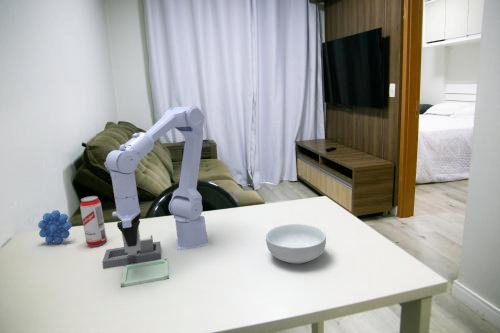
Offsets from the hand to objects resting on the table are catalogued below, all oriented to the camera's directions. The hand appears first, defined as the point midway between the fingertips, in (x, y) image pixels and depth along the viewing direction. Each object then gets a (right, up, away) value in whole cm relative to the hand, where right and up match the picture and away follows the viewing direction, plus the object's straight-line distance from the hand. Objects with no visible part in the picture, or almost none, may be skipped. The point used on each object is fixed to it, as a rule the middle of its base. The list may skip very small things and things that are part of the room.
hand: (132, 242), depth 93 cm
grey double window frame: (-3, -7, +10) cm, 12 cm away
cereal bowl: (+45, -6, +5) cm, 46 cm away
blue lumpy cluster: (-34, -6, +25) cm, 42 cm away
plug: (0, -2, 0) cm, 2 cm away
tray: (+4, -9, 0) cm, 10 cm away
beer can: (-20, -5, +22) cm, 30 cm away
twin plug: (+1, -7, +11) cm, 13 cm away
